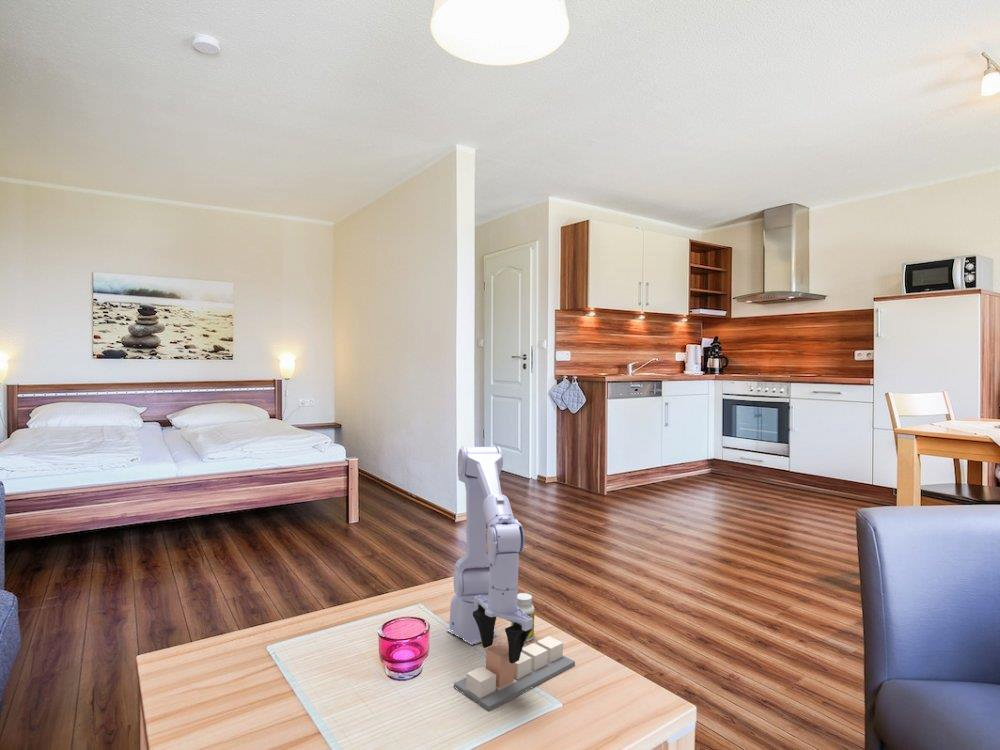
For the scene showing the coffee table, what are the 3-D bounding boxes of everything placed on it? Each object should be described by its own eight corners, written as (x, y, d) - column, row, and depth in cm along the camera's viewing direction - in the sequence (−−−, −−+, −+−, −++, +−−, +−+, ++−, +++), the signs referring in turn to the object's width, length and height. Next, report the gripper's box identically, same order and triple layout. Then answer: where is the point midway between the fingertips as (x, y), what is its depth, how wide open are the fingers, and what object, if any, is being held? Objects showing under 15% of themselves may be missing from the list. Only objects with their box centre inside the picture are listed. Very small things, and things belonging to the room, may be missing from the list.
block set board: (453, 687, 108) (454, 667, 108) (539, 647, 125) (540, 630, 125) (488, 711, 101) (489, 690, 101) (574, 665, 118) (575, 647, 118)
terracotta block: (485, 679, 110) (486, 649, 110) (499, 672, 112) (500, 642, 112) (499, 688, 107) (500, 656, 107) (513, 680, 110) (515, 650, 110)
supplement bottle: (524, 630, 134) (526, 590, 134) (538, 639, 129) (539, 598, 129) (506, 635, 131) (507, 594, 131) (519, 644, 126) (521, 602, 126)
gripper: (464, 578, 112) (461, 645, 112) (515, 601, 102) (512, 676, 102) (489, 571, 117) (487, 635, 117) (541, 592, 107) (538, 663, 107)
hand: (500, 653), depth 110 cm, fingers open, 7 cm apart
